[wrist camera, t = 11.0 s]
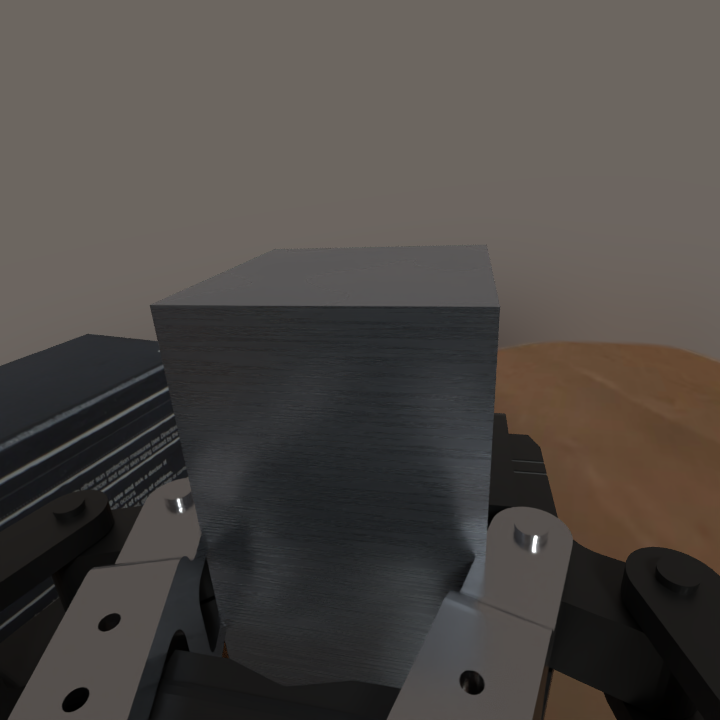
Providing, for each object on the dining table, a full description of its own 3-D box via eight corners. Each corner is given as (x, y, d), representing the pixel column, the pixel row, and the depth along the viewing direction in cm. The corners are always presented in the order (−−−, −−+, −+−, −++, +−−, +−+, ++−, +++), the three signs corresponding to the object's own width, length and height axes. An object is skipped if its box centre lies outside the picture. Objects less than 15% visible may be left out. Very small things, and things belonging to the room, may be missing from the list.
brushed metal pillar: (268, 834, 11) (149, 305, 7) (322, 654, 16) (274, 249, 11) (466, 884, 10) (499, 307, 6) (467, 678, 15) (486, 244, 10)
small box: (146, 529, 23) (88, 325, 19) (254, 569, 21) (213, 342, 17) (-130, 757, 15) (-338, 470, 11) (-4, 877, 12) (-220, 553, 8)
